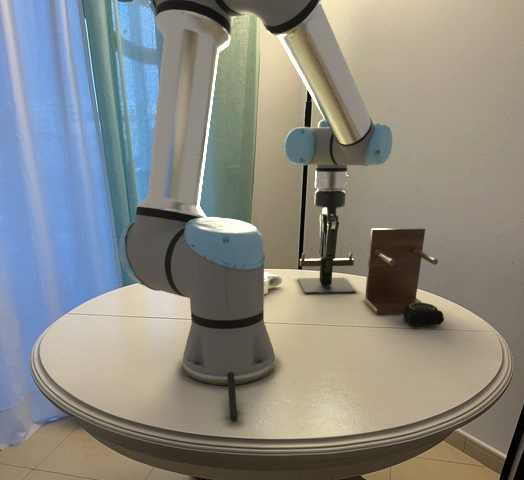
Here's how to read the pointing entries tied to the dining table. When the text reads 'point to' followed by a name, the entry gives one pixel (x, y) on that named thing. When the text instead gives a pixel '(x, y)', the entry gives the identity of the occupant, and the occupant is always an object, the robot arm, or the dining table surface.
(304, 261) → the hanger
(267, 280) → the white brass knuckles
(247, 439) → the dining table surface
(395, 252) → the rack
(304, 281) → the mat
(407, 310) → the tape measure
